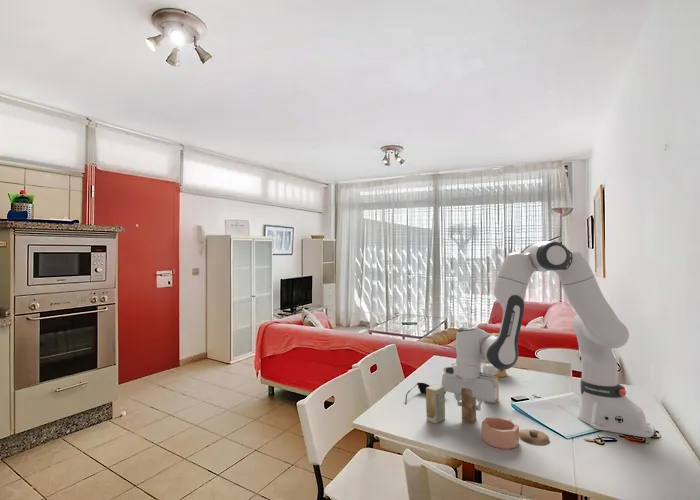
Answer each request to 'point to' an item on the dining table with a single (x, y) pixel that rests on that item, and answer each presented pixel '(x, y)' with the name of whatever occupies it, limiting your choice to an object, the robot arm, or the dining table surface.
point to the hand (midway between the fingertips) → (469, 407)
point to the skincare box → (435, 403)
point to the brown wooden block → (468, 406)
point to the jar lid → (533, 436)
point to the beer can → (490, 369)
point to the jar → (500, 432)
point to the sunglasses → (422, 389)
